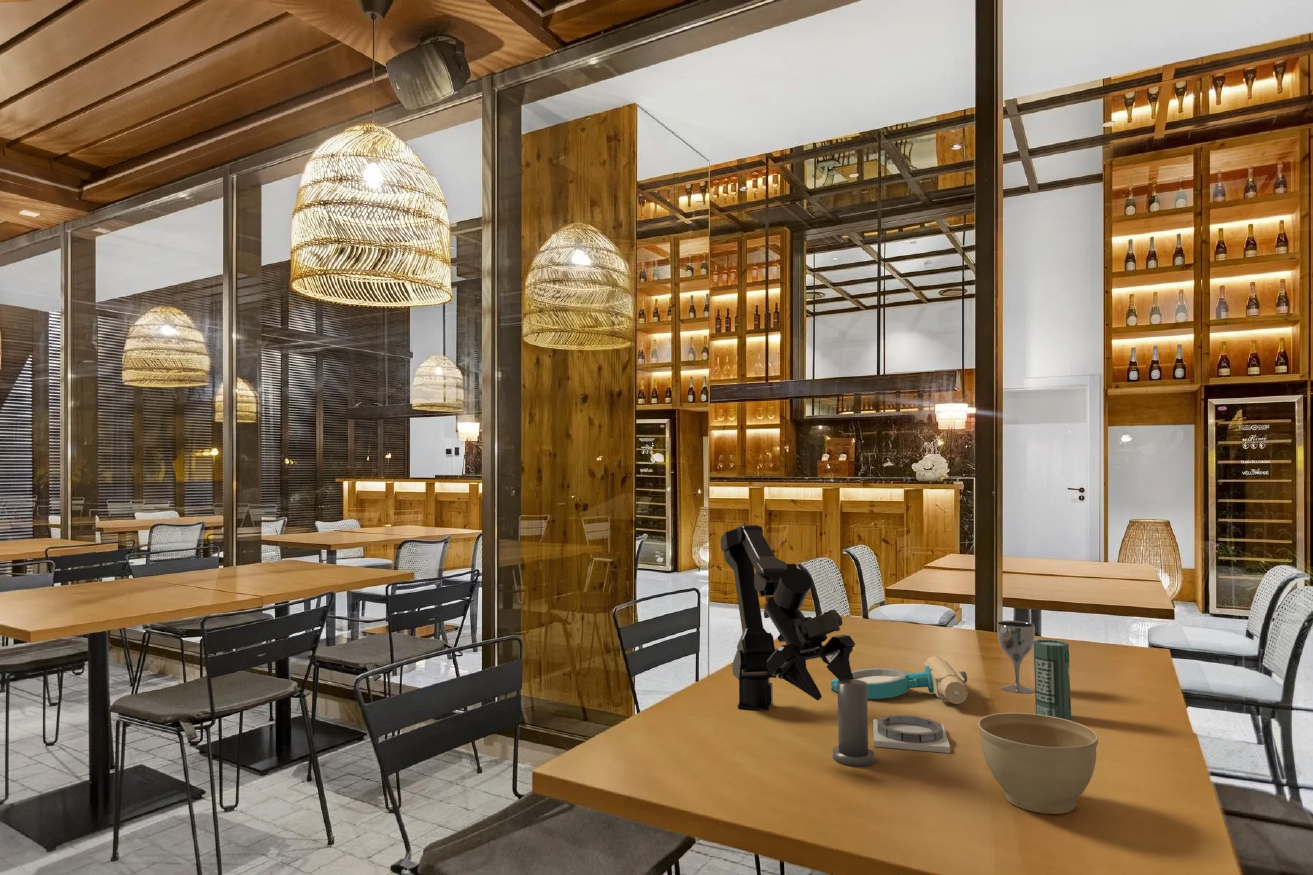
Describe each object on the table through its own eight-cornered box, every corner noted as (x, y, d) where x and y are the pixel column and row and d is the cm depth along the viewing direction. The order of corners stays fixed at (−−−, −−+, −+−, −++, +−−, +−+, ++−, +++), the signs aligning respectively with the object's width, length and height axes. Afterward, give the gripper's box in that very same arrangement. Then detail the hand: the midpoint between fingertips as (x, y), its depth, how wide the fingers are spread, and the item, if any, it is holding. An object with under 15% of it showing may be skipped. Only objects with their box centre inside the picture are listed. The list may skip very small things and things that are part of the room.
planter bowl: (997, 773, 125) (995, 705, 126) (1109, 798, 115) (1107, 725, 115) (965, 804, 113) (963, 730, 113) (1088, 837, 102) (1085, 754, 103)
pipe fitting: (831, 764, 129) (830, 686, 130) (833, 750, 136) (832, 676, 137) (874, 768, 127) (873, 689, 128) (874, 753, 134) (872, 679, 135)
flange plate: (874, 746, 138) (873, 732, 138) (873, 724, 150) (873, 711, 150) (950, 752, 134) (950, 738, 134) (943, 729, 147) (942, 716, 147)
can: (1076, 718, 154) (1074, 643, 155) (1059, 723, 151) (1056, 646, 152) (1048, 710, 159) (1045, 638, 160) (1030, 715, 156) (1028, 641, 157)
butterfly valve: (835, 720, 162) (983, 712, 156) (830, 687, 162) (978, 678, 157) (831, 687, 188) (958, 679, 182) (827, 659, 189) (953, 650, 183)
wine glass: (999, 691, 174) (997, 625, 174) (998, 683, 181) (996, 619, 182) (1038, 695, 171) (1036, 627, 172) (1035, 686, 178) (1033, 621, 179)
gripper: (777, 600, 134) (826, 676, 125) (846, 591, 145) (896, 660, 136) (747, 638, 140) (791, 713, 131) (815, 627, 151) (861, 695, 142)
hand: (837, 694), depth 135 cm, fingers open, 9 cm apart
